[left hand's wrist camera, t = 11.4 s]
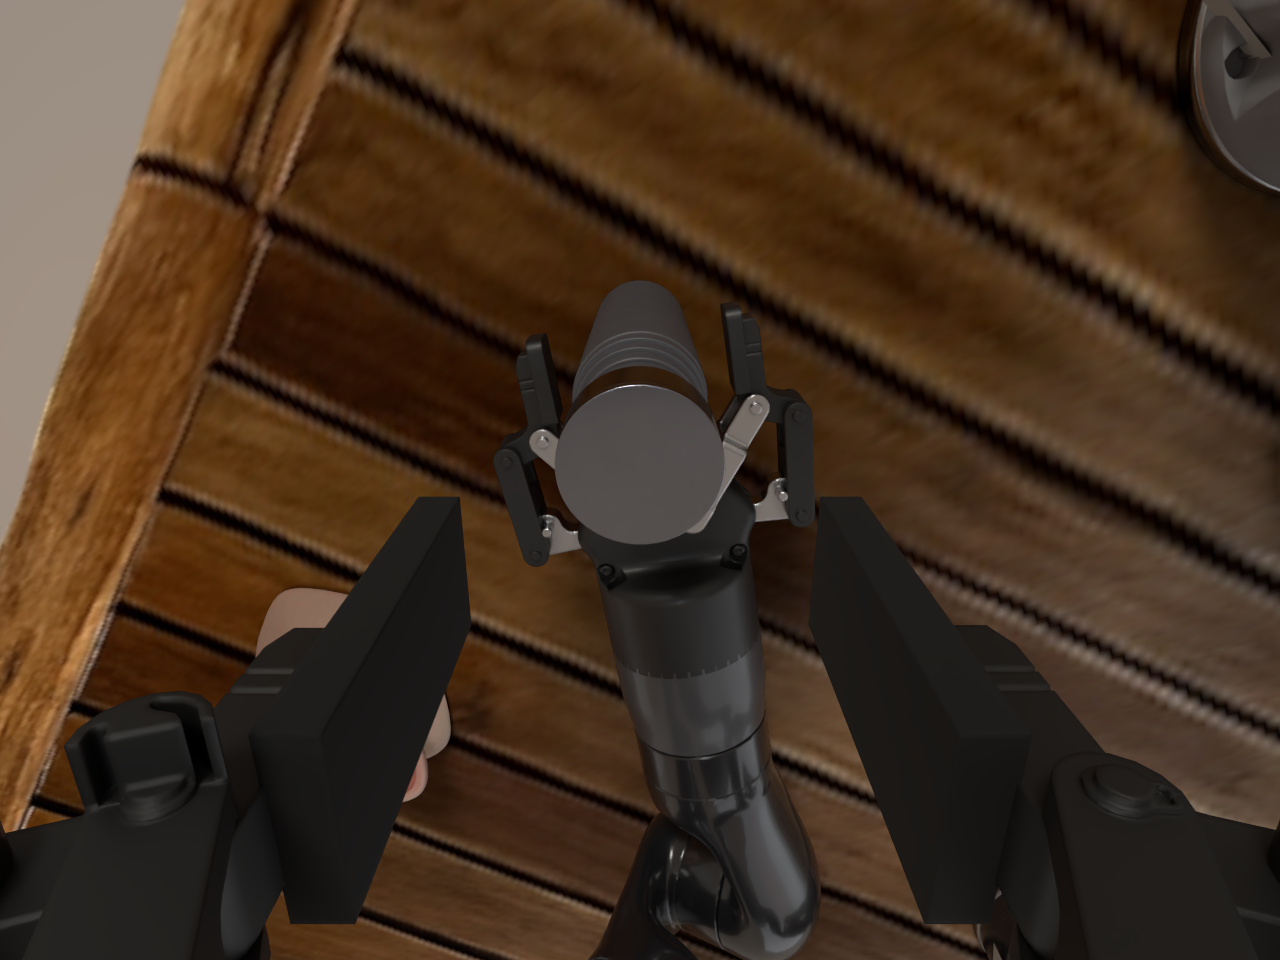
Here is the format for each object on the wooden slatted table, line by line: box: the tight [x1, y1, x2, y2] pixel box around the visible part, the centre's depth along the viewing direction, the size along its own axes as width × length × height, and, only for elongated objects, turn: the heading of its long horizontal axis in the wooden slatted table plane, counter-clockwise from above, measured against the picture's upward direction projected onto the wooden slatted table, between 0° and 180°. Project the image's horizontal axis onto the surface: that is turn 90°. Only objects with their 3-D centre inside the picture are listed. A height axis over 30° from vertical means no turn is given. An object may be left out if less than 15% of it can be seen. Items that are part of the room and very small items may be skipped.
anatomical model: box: [256, 588, 451, 802], centre depth 45 cm, size 13×4×12 cm
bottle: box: [572, 281, 708, 404], centre depth 30 cm, size 5×5×21 cm
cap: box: [555, 366, 725, 545], centre depth 20 cm, size 4×4×2 cm
